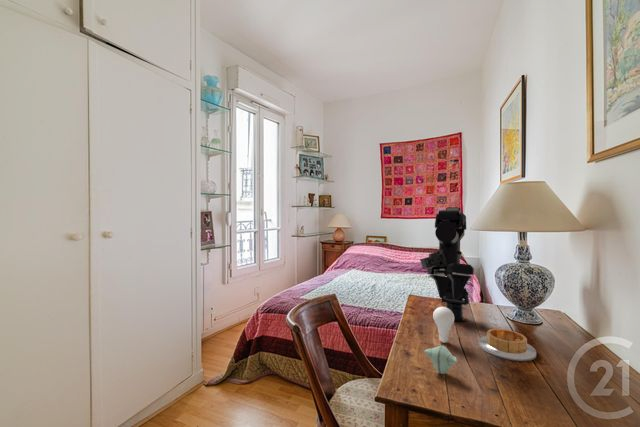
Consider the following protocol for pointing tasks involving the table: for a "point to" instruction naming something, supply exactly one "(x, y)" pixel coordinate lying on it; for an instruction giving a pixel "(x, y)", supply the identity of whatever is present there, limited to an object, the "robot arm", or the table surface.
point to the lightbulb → (443, 322)
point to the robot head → (441, 359)
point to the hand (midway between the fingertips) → (448, 298)
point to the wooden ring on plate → (507, 345)
